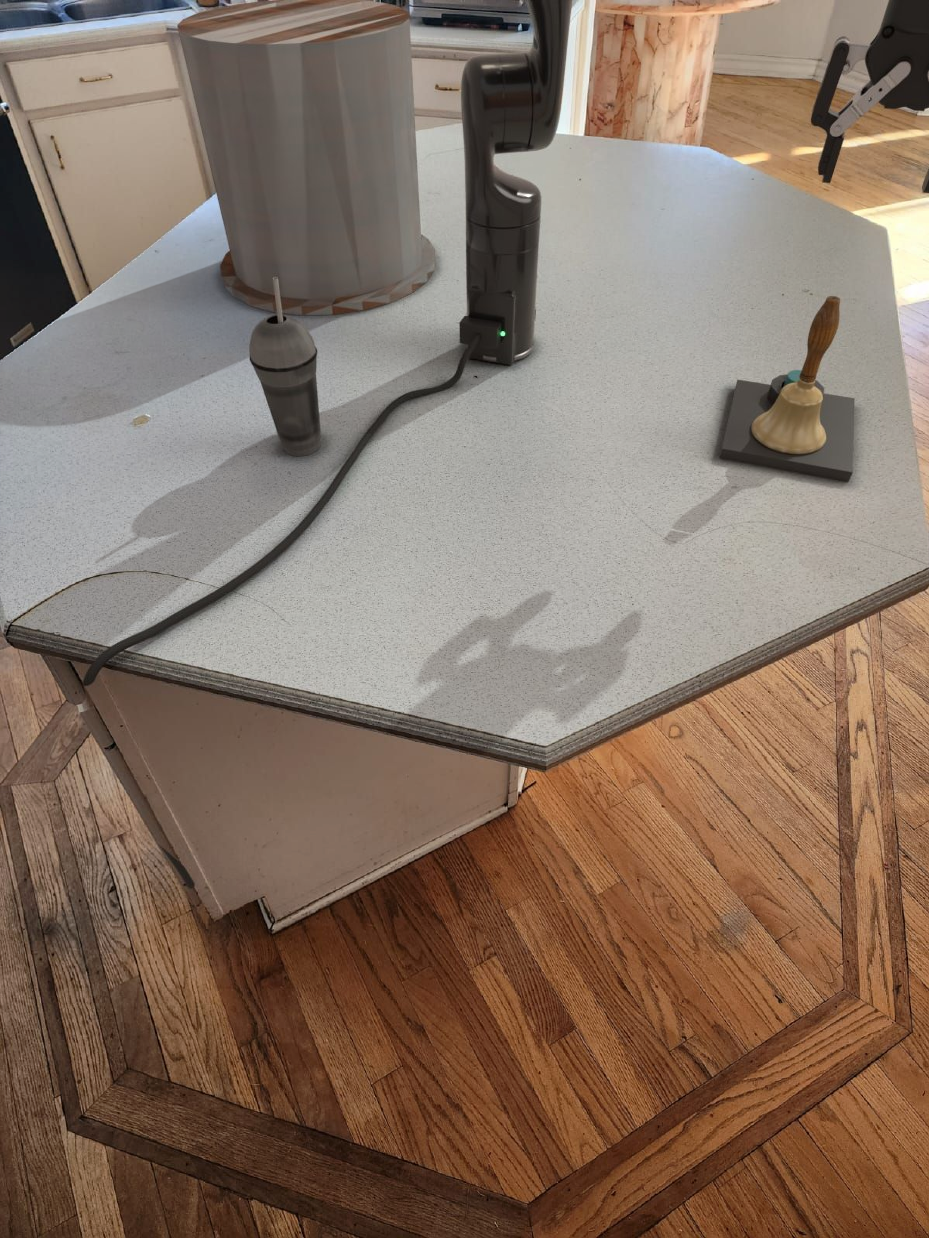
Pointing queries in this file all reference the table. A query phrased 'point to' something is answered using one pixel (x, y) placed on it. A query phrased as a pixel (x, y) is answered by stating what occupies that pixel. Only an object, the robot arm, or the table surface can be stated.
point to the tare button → (792, 377)
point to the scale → (821, 463)
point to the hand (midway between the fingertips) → (875, 185)
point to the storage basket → (311, 151)
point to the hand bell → (801, 395)
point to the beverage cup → (288, 378)
